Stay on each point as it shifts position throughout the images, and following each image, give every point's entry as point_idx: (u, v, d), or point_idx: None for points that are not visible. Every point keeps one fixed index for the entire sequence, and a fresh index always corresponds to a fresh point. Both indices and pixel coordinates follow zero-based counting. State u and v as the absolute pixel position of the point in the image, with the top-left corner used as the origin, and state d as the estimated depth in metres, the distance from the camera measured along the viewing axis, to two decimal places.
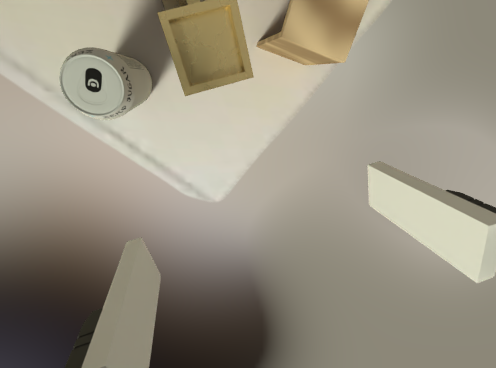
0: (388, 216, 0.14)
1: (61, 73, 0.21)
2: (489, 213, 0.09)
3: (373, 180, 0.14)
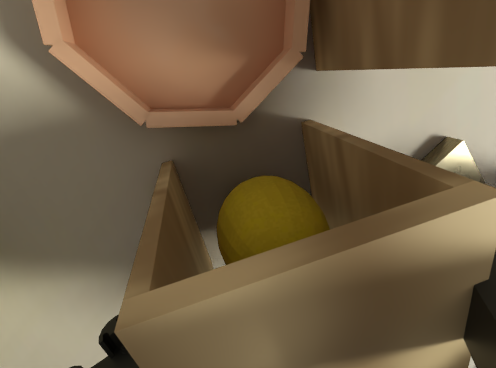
0: None
1: None
2: None
3: None
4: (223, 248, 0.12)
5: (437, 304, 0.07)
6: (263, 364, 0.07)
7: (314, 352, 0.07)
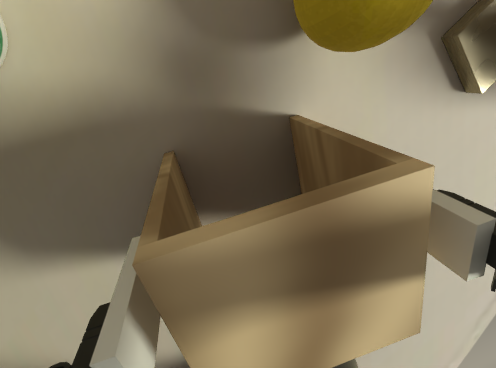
0: None
1: None
2: (478, 212, 0.09)
3: None
4: None
5: (386, 258, 0.09)
6: (246, 302, 0.08)
7: (287, 294, 0.09)
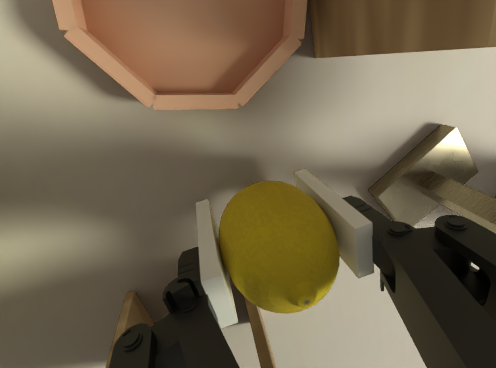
0: None
1: None
2: (361, 217, 0.11)
3: (298, 186, 0.16)
4: (225, 257, 0.11)
5: None
6: None
7: None
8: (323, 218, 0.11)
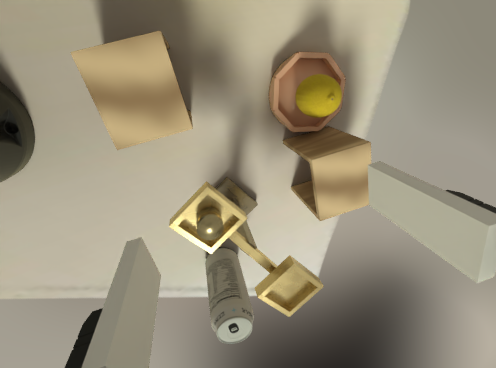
0: (388, 216, 0.14)
1: (217, 335, 0.34)
2: (489, 213, 0.09)
3: (372, 180, 0.14)
4: (303, 95, 0.33)
5: (158, 121, 0.26)
6: (141, 68, 0.24)
7: (144, 84, 0.25)
8: (336, 81, 0.33)
